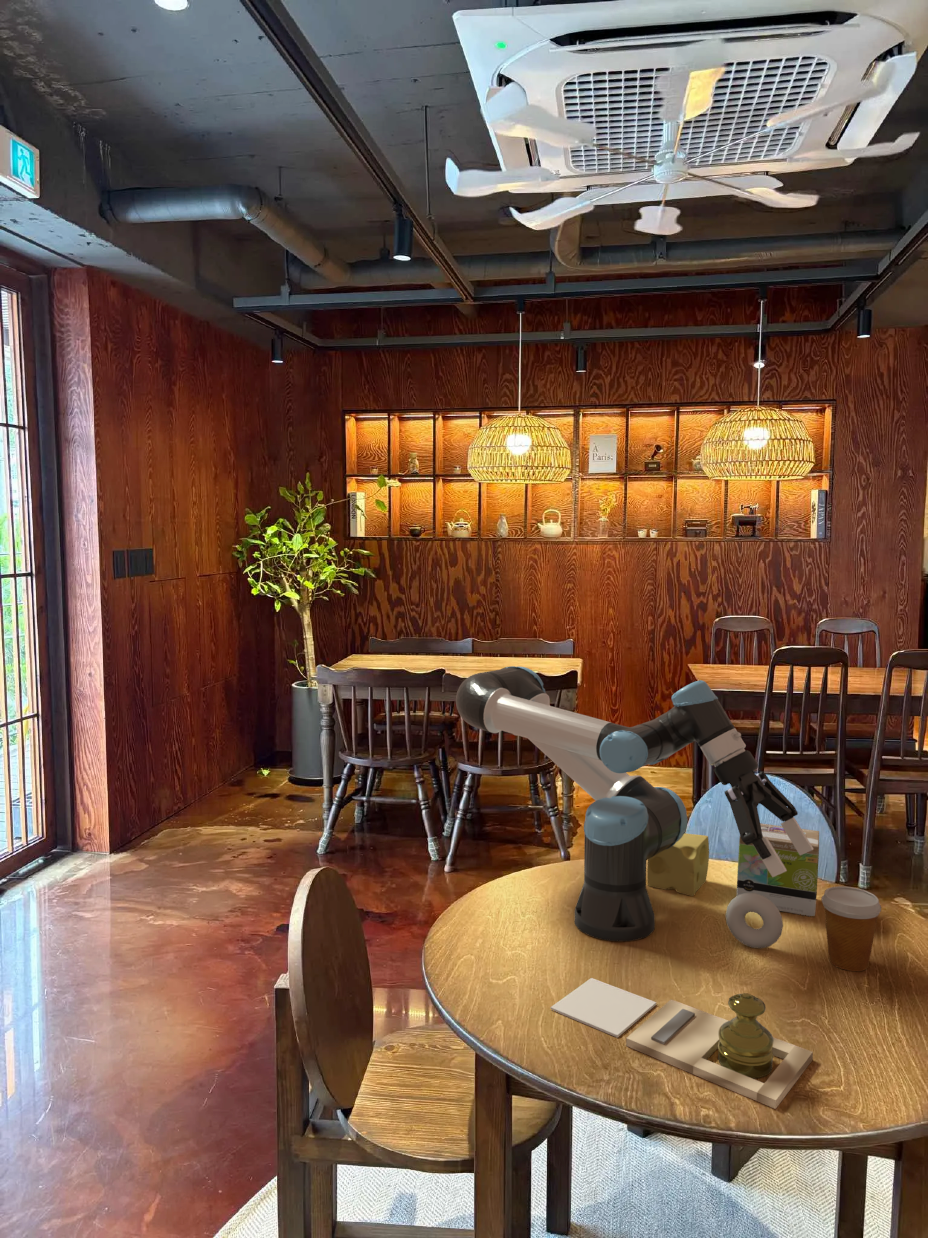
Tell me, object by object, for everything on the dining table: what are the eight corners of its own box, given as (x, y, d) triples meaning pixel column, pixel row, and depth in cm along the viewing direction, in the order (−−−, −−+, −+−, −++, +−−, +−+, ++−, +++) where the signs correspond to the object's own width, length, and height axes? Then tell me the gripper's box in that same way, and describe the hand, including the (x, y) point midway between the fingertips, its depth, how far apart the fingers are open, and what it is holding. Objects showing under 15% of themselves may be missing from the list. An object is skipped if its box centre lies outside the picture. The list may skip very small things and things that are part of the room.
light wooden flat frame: (625, 1046, 128) (626, 1035, 128) (670, 1006, 139) (670, 997, 139) (775, 1109, 114) (775, 1097, 114) (812, 1060, 125) (812, 1049, 125)
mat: (550, 1009, 138) (550, 1007, 138) (591, 980, 147) (591, 978, 147) (617, 1038, 130) (617, 1035, 130) (656, 1004, 140) (656, 1002, 140)
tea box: (735, 906, 177) (737, 834, 175) (740, 887, 186) (742, 819, 184) (816, 918, 171) (819, 844, 169) (816, 899, 180) (819, 828, 179)
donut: (722, 944, 160) (724, 891, 159) (727, 937, 163) (729, 884, 162) (779, 958, 155) (781, 903, 154) (783, 950, 158) (785, 896, 157)
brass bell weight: (707, 1053, 127) (709, 986, 126) (753, 1045, 129) (755, 980, 128) (735, 1084, 120) (737, 1013, 119) (783, 1075, 121) (786, 1006, 120)
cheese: (694, 897, 181) (695, 850, 180) (644, 886, 187) (644, 840, 186) (709, 880, 190) (710, 835, 189) (660, 870, 195) (661, 826, 194)
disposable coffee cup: (885, 979, 148) (888, 910, 146) (824, 973, 150) (827, 905, 148) (870, 952, 157) (873, 887, 156) (814, 947, 159) (816, 883, 158)
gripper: (717, 762, 153) (785, 875, 147) (771, 737, 172) (834, 836, 166) (684, 781, 158) (749, 891, 151) (740, 754, 177) (800, 851, 170)
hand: (793, 863), depth 159 cm, fingers open, 13 cm apart
